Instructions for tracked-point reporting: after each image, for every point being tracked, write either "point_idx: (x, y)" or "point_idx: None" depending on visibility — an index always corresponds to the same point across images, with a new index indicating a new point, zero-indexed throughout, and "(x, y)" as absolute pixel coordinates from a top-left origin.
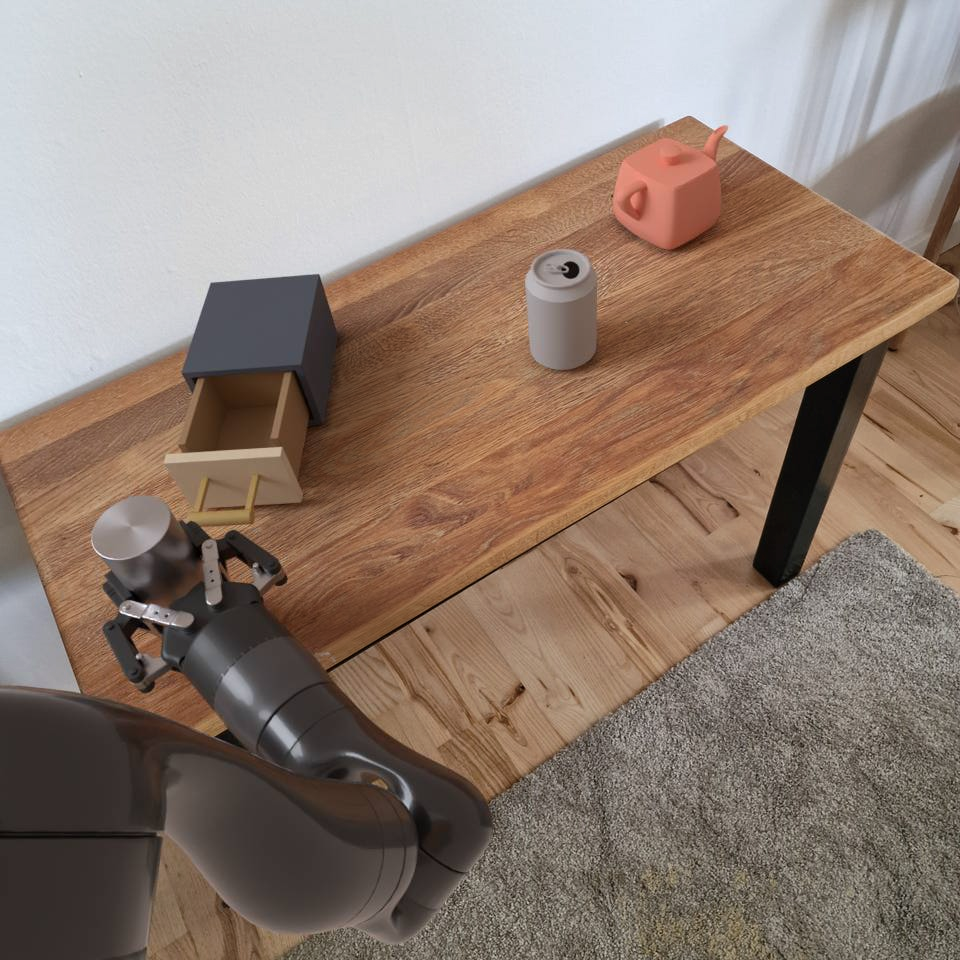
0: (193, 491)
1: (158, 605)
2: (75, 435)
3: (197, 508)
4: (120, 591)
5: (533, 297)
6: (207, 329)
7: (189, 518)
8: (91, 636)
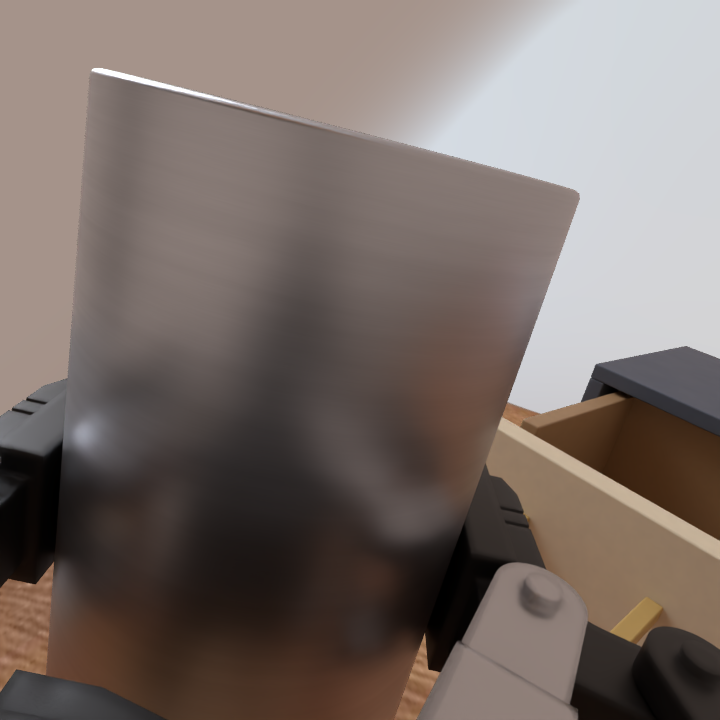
0: None
1: (69, 625)
2: None
3: None
4: (48, 416)
5: None
6: (665, 364)
7: None
8: (36, 585)
